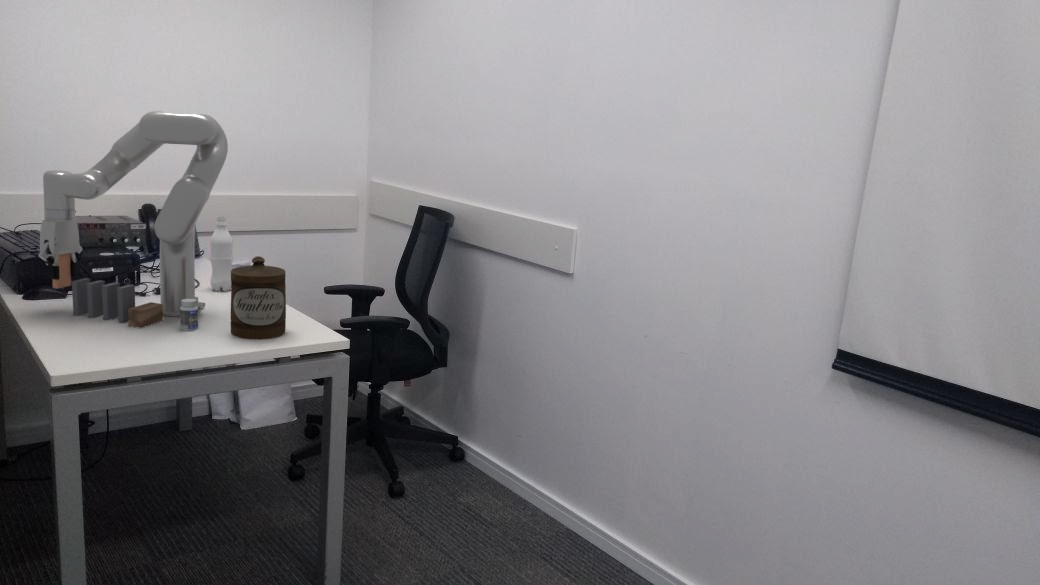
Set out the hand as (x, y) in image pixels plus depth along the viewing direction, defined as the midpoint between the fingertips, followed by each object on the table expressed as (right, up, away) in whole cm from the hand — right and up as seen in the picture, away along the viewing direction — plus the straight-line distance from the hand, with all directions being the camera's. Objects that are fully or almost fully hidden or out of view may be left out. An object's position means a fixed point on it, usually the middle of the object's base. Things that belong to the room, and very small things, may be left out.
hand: (61, 276), depth 224 cm
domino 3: (+10, -11, 0) cm, 15 cm away
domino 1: (0, -3, +1) cm, 3 cm away
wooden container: (+58, -16, -3) cm, 60 cm away
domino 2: (+5, -11, +1) cm, 12 cm away
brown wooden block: (+26, -13, -3) cm, 29 cm away
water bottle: (+30, -4, +42) cm, 52 cm away
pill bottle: (+39, -15, -5) cm, 42 cm away
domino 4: (+15, -12, -1) cm, 19 cm away
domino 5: (+20, -13, -2) cm, 24 cm away
